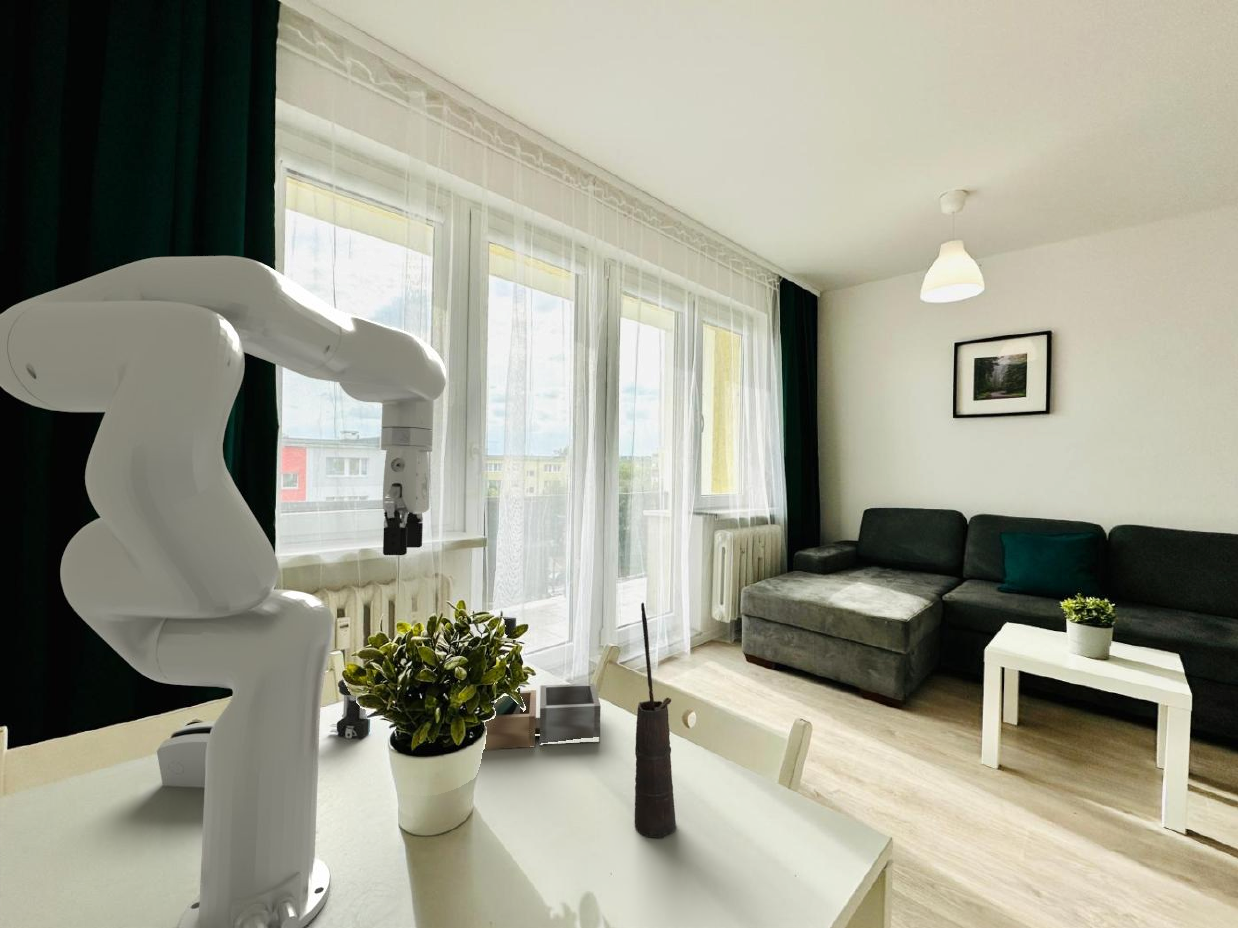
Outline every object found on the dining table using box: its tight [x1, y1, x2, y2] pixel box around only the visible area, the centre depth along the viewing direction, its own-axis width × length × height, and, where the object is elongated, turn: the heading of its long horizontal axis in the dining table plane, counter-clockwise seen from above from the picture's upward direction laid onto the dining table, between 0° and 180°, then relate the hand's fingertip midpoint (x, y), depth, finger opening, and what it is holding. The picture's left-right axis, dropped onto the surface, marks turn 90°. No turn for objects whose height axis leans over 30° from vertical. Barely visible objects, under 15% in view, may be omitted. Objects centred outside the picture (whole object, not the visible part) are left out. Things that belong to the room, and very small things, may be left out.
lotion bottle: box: [494, 615, 521, 715], centre depth 91 cm, size 6×6×20 cm
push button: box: [330, 678, 371, 740], centre depth 90 cm, size 7×5×10 cm
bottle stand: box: [484, 682, 601, 751], centre depth 92 cm, size 22×11×6 cm, turn 98°
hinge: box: [156, 720, 217, 789], centre depth 75 cm, size 17×5×10 cm, turn 87°
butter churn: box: [634, 602, 677, 838], centre depth 68 cm, size 9×10×28 cm
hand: (403, 550), depth 82 cm, fingers open, 9 cm apart
